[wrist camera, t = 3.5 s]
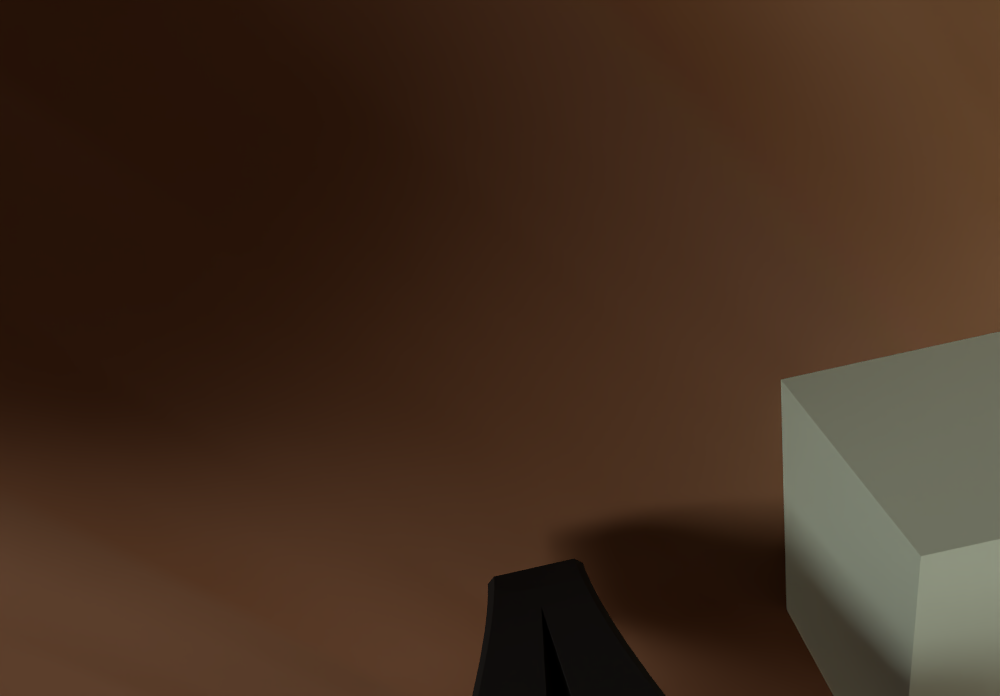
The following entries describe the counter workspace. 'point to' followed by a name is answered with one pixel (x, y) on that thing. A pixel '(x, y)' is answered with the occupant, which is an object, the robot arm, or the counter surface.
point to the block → (897, 520)
